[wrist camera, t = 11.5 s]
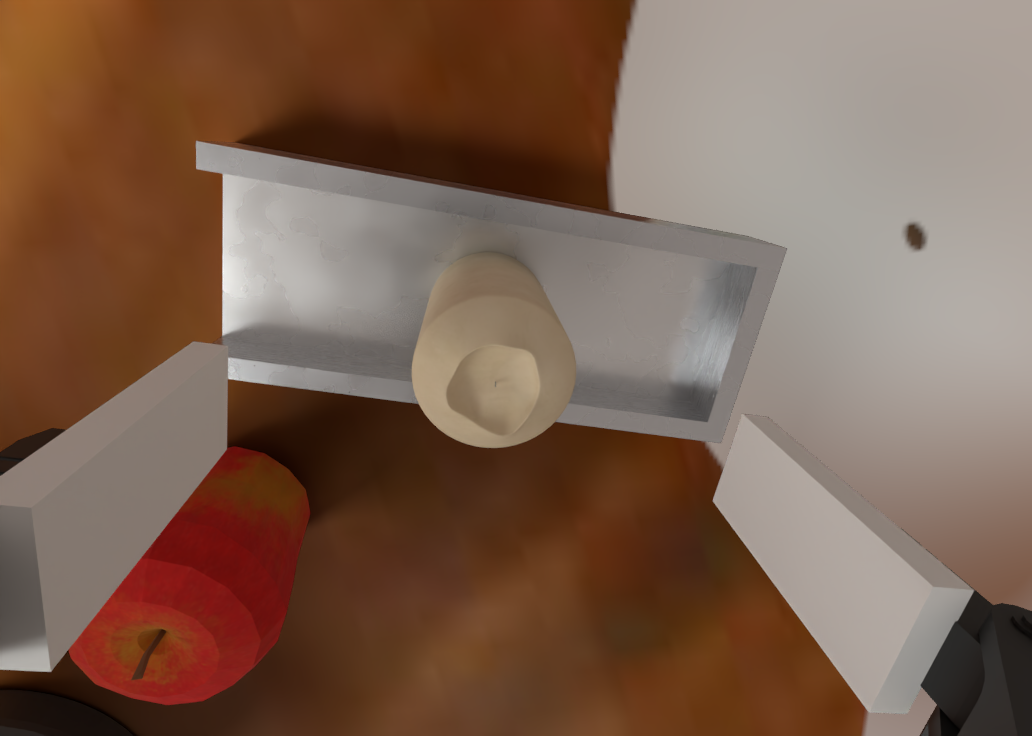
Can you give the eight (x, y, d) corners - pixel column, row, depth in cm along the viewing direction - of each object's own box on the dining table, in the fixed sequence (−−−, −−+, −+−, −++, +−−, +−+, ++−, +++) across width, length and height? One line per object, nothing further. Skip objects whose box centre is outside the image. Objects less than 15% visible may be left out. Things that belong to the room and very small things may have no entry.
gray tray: (232, 347, 28) (198, 375, 25) (234, 142, 25) (196, 141, 21) (693, 410, 31) (721, 443, 28) (748, 236, 28) (787, 248, 24)
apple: (179, 402, 29) (-1, 559, 18) (346, 444, 30) (275, 612, 19) (158, 539, 32) (-9, 747, 21) (312, 571, 33) (233, 781, 22)
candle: (551, 355, 28) (591, 456, 19) (439, 371, 28) (424, 481, 19) (538, 242, 26) (576, 294, 17) (418, 259, 26) (389, 320, 17)
